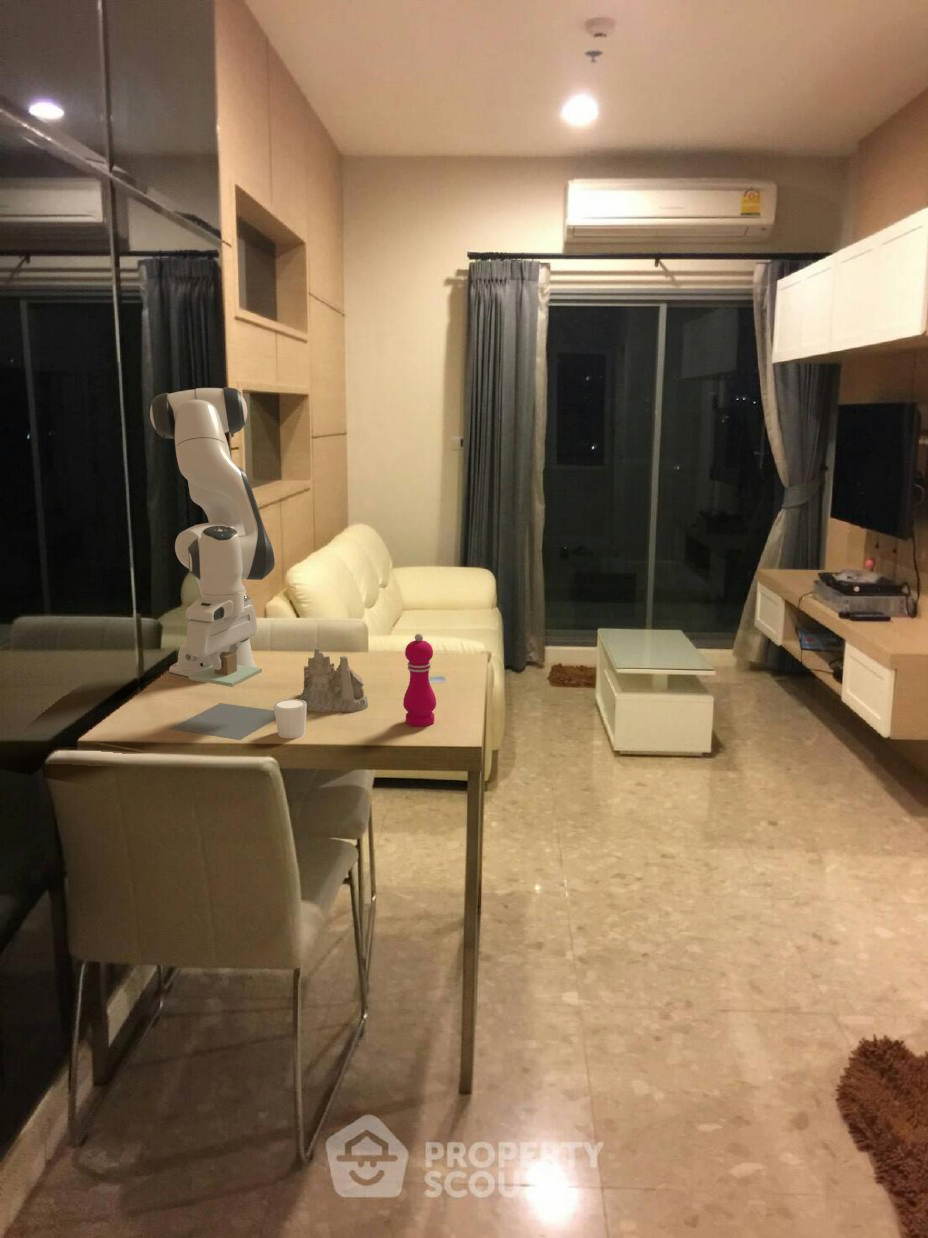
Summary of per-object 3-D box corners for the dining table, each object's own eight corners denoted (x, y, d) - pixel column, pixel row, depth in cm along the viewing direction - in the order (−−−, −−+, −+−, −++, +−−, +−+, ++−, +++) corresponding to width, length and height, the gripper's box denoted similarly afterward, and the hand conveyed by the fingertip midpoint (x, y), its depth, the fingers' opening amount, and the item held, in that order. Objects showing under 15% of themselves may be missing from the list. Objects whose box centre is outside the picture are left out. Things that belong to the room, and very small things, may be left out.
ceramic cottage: (366, 713, 207) (361, 647, 205) (293, 715, 208) (288, 650, 205) (373, 695, 223) (369, 634, 220) (305, 697, 223) (301, 637, 220)
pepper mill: (410, 729, 197) (408, 639, 193) (399, 719, 204) (397, 631, 199) (441, 724, 200) (440, 635, 195) (429, 714, 207) (428, 628, 202)
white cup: (277, 730, 198) (275, 699, 196) (309, 728, 198) (308, 698, 196) (273, 741, 191) (271, 709, 189) (306, 740, 191) (305, 708, 190)
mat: (169, 730, 197) (169, 728, 197) (220, 704, 214) (220, 702, 214) (240, 741, 191) (240, 739, 191) (287, 714, 207) (287, 712, 207)
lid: (188, 679, 197) (187, 657, 196) (220, 665, 207) (219, 644, 206) (232, 686, 194) (231, 665, 192) (261, 672, 203) (261, 651, 202)
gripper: (239, 592, 207) (240, 651, 210) (180, 612, 188) (183, 676, 192) (263, 595, 205) (264, 654, 208) (205, 616, 186) (208, 681, 190)
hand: (225, 665), depth 200 cm, fingers closed on lid, 3 cm apart
